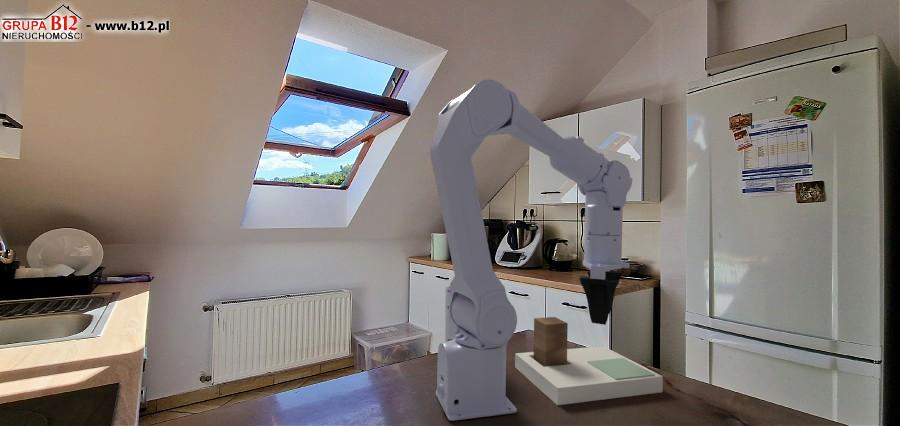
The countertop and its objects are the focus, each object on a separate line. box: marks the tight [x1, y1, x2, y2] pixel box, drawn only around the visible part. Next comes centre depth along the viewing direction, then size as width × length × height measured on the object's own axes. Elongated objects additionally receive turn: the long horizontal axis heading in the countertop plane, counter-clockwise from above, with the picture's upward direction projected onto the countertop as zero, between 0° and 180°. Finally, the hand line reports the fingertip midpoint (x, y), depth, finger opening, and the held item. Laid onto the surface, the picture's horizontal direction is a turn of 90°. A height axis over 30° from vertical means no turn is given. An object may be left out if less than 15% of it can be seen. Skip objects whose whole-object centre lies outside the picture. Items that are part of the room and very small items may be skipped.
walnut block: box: [533, 316, 568, 367], centre depth 65 cm, size 4×4×9 cm
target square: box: [587, 358, 655, 380], centre depth 62 cm, size 7×7×1 cm
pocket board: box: [514, 345, 664, 406], centre depth 63 cm, size 18×14×2 cm
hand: (601, 317), depth 63 cm, fingers open, 7 cm apart
